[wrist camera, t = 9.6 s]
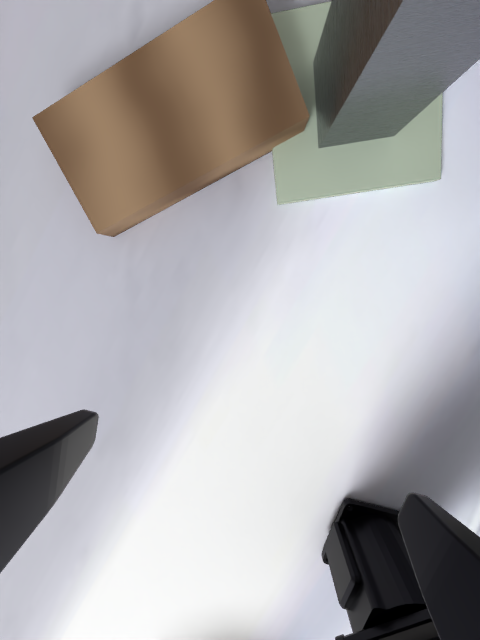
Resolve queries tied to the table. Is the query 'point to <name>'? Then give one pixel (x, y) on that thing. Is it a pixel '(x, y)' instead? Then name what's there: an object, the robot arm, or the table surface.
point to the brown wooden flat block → (176, 115)
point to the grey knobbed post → (388, 63)
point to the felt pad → (354, 158)
